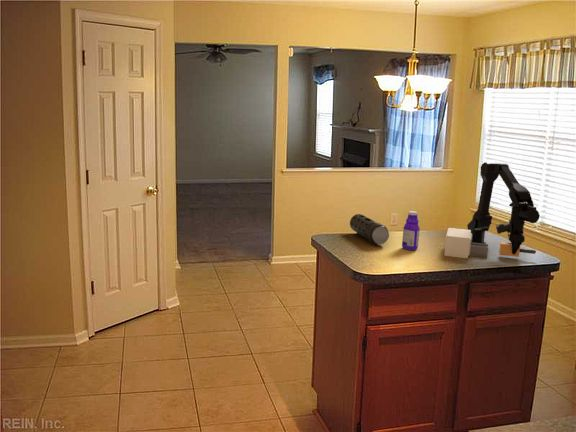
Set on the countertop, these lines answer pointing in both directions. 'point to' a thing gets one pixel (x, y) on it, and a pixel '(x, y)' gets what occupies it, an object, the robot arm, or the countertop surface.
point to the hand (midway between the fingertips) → (513, 253)
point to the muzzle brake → (369, 229)
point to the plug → (507, 250)
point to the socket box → (463, 244)
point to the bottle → (411, 232)
